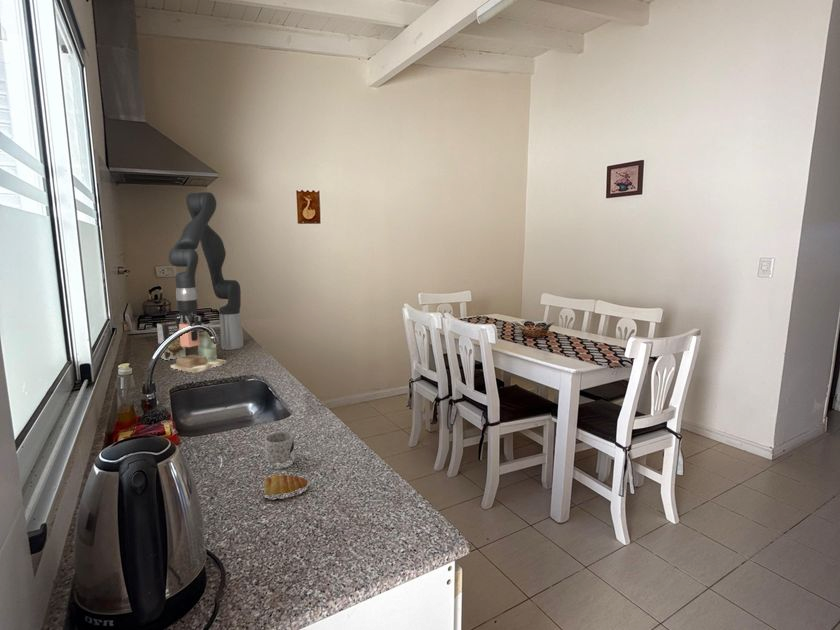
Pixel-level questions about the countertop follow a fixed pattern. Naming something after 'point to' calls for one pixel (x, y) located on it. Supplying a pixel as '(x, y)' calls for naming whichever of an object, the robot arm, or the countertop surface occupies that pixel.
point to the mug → (279, 447)
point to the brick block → (188, 337)
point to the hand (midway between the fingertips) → (189, 339)
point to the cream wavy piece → (200, 357)
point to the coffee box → (175, 347)
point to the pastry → (283, 484)
